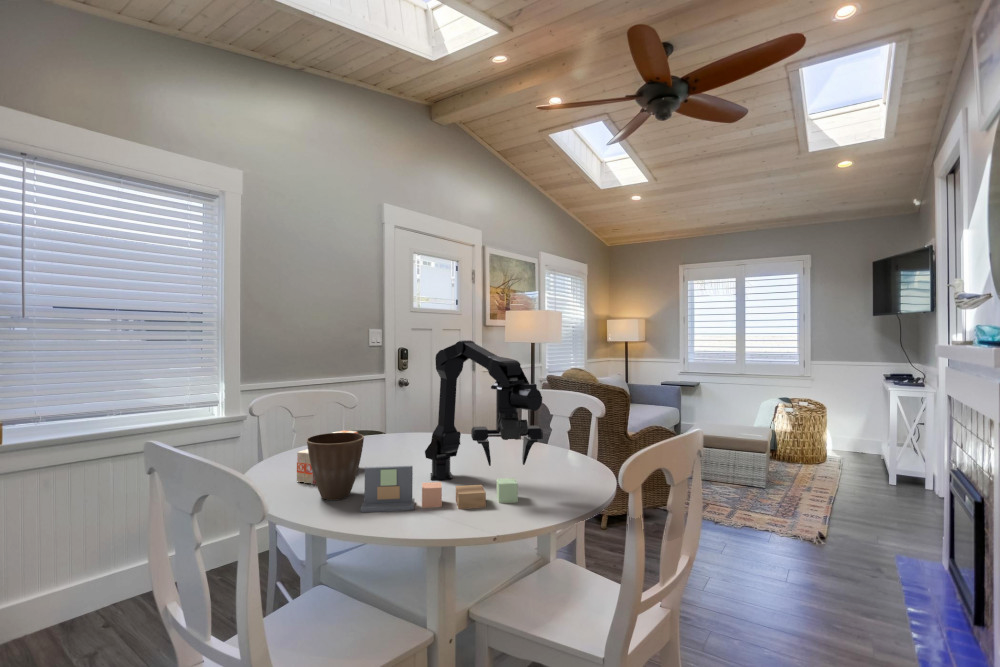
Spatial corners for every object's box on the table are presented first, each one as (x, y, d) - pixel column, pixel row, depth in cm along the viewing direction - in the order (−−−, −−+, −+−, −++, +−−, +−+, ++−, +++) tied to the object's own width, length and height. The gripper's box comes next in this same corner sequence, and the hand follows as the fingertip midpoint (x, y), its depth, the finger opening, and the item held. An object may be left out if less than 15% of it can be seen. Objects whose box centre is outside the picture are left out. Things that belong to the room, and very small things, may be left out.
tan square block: (455, 501, 135) (455, 486, 135) (481, 499, 137) (481, 484, 137) (458, 509, 129) (458, 494, 129) (485, 508, 130) (485, 492, 130)
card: (363, 504, 132) (363, 465, 132) (414, 502, 134) (414, 464, 134) (360, 512, 126) (360, 471, 126) (413, 509, 128) (413, 470, 128)
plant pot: (369, 500, 135) (369, 440, 135) (309, 508, 129) (309, 445, 129) (358, 485, 149) (358, 430, 149) (303, 492, 142) (304, 435, 142)
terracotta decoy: (422, 501, 134) (422, 482, 134) (441, 500, 135) (441, 482, 135) (421, 508, 129) (422, 488, 130) (441, 507, 130) (441, 487, 130)
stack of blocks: (313, 485, 149) (313, 443, 149) (296, 483, 151) (296, 441, 152) (358, 467, 169) (358, 430, 169) (342, 466, 171) (342, 429, 171)
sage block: (496, 497, 138) (496, 479, 138) (514, 496, 139) (514, 478, 139) (499, 503, 133) (499, 484, 133) (517, 502, 134) (517, 483, 134)
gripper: (475, 412, 127) (474, 474, 127) (547, 410, 130) (547, 471, 129) (471, 405, 138) (471, 463, 138) (538, 404, 141) (538, 461, 141)
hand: (506, 465), depth 136 cm, fingers open, 9 cm apart
